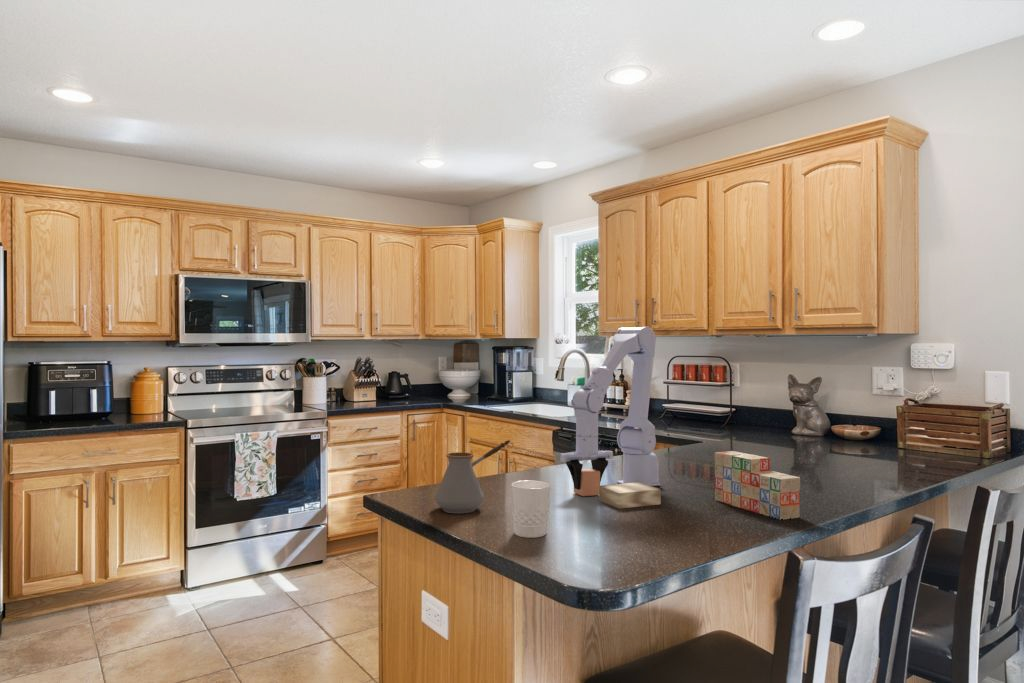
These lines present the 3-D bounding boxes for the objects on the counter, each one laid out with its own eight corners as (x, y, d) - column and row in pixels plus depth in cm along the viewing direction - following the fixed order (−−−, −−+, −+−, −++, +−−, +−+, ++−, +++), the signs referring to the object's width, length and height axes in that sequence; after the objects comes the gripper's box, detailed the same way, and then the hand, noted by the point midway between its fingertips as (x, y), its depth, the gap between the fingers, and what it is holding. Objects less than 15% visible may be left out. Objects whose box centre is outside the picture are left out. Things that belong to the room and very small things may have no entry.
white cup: (520, 540, 126) (520, 489, 126) (504, 530, 133) (505, 482, 133) (556, 536, 129) (556, 486, 129) (539, 526, 136) (539, 479, 136)
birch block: (639, 497, 165) (639, 482, 165) (660, 505, 157) (660, 489, 157) (599, 501, 160) (599, 485, 160) (618, 510, 152) (618, 493, 152)
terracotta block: (590, 490, 170) (590, 468, 170) (600, 494, 165) (600, 471, 165) (573, 492, 168) (573, 469, 168) (582, 496, 163) (583, 472, 163)
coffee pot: (452, 518, 142) (453, 450, 142) (425, 508, 150) (425, 444, 151) (525, 504, 155) (526, 442, 155) (496, 495, 164) (497, 437, 164)
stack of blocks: (800, 518, 145) (800, 463, 145) (779, 521, 143) (780, 465, 143) (733, 497, 165) (733, 450, 165) (713, 500, 162) (714, 451, 162)
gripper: (569, 438, 160) (568, 493, 160) (619, 436, 166) (618, 488, 165) (556, 435, 167) (556, 487, 167) (605, 432, 172) (605, 483, 172)
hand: (586, 487), depth 166 cm, fingers closed on terracotta block, 5 cm apart
